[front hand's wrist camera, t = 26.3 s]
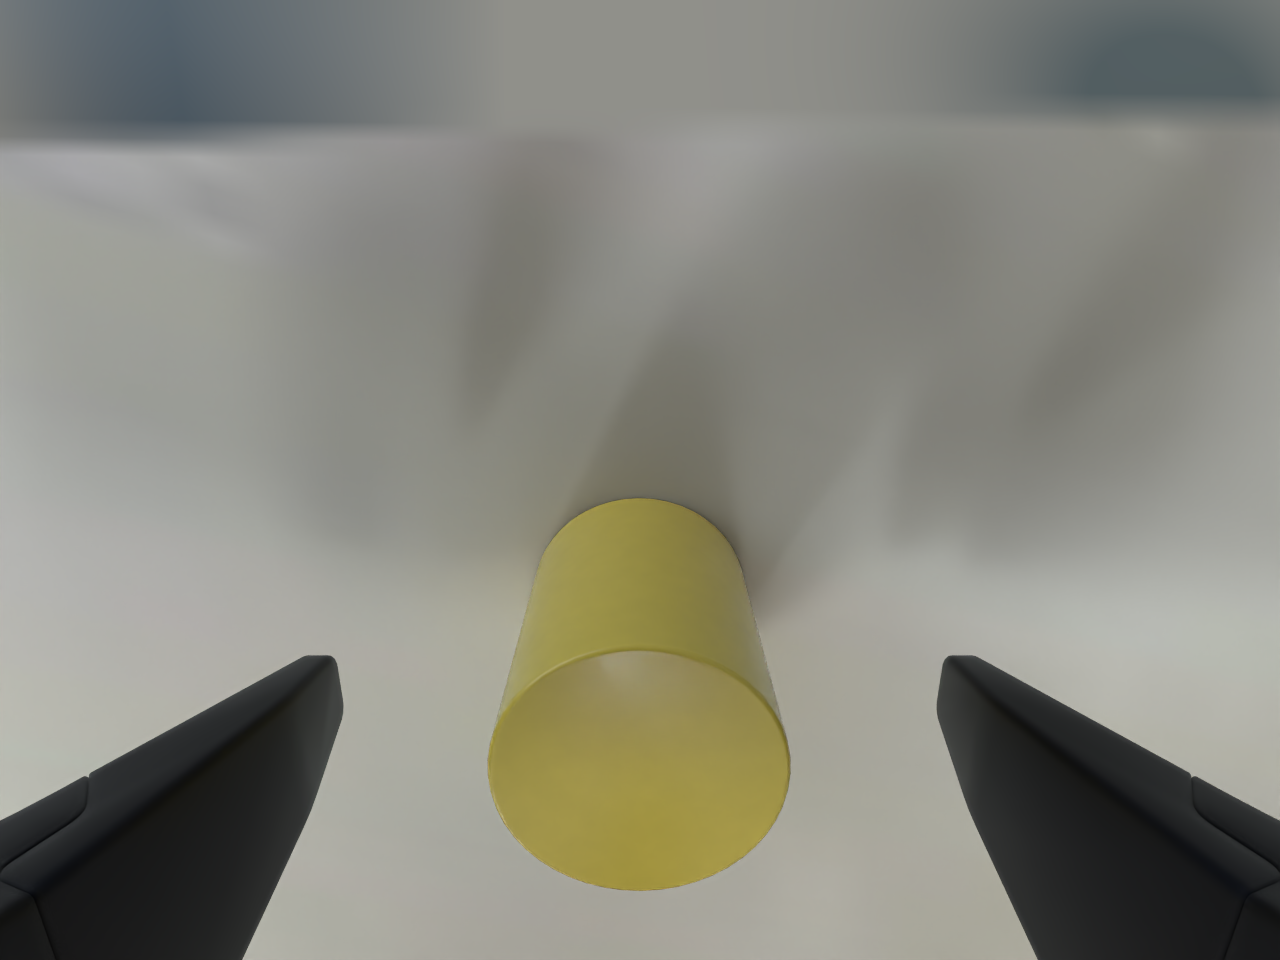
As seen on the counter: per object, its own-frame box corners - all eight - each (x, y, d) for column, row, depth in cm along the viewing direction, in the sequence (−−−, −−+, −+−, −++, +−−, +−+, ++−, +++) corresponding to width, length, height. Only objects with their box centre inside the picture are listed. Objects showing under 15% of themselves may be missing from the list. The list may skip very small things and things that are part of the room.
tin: (587, 709, 15) (565, 925, 11) (498, 544, 14) (431, 711, 9) (773, 641, 14) (832, 840, 10) (698, 464, 13) (727, 601, 9)
